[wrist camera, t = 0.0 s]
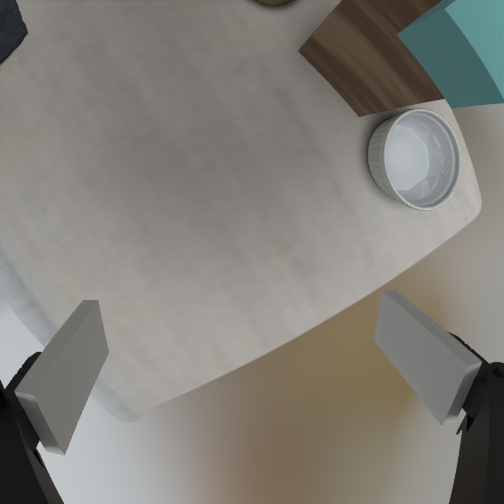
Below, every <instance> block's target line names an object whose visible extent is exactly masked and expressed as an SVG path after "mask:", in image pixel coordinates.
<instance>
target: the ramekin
mask: <svg viewBox="0 0 504 504" xmlns="http://www.w3.org/2000/svg"><path fill="white" fill-rule="evenodd" d="M368 163H369V168H370V171H371V174H372V176H373V178H374V180H375V182H376V183H377V184H378V186H379V187H380V188H381V189H382V190H383V191H384V192H385V193H386V194H388V195H389V196H391V197H393V198H394V199H396V200H398V201H400V202H401V203H402V204H404V205H406V206H408V207H410V208H413V209H417V210H423V211H428V210H433V209H436V208H439V207H440V206H442V205H443V204H445V203H446V202H447V201H448V200H449V199H450V198H451V196H452V195H453V193H454V192H455V190H456V188H457V185H458V183H459V180H460V175H461V169H462V156H461V149H460V145H459V142H458V139H457V137H456V134H455V133H454V131H453V129H452V128H451V126H450V125H449V124H448V122H447V121H446V120H445V119H444V118H442V117H441V116H440V115H439V114H437V113H435V112H433V111H431V110H428V109H422V108H418V109H409V110H406V111H403V112H401V113H399V114H398V115H396V116H395V117H393V118H391V119H388V120H387V121H385V122H384V123H382V124H381V125H380V126H379V127H378V128H377V129H376V130H375V132H374V134H373V135H372V138H371V140H370V143H369V148H368Z"/></svg>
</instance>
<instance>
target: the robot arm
mask: <svg viewBox="0 0 504 504" xmlns="http://www.w3.org/2000/svg"><path fill="white" fill-rule="evenodd" d="M374 341H375V343H376V344H377V345H378V346H379V347H380V349H381V350H382V351H383V352H384V354H385V355H386V356H387V357H388V358H389V360H390V361H391V362H392V363H393V364H394V366H395V367H396V368H397V369H398V371H399V372H400V373H401V374H402V376H403V377H404V378H405V379H406V381H407V382H408V383H409V384H410V386H411V387H412V388H413V390H414V391H415V392H416V393H417V395H418V396H419V397H420V398H421V400H422V401H423V402H424V403H425V405H426V406H427V407H428V409H429V410H430V411H431V412H432V414H433V415H434V416H435V417H436V419H437V420H438V421H439V423H440V424H441V425H444V424H447V423H449V422H452V421H454V420H456V419H457V417H458V415H459V413H460V411H461V409H462V408H463V409H464V411H465V412H466V415H465V417H464V419H463V421H462V423H461V425H460V427H459V428H458V431H457V433H456V434H459V432H460V431H461V430H462V436H461V443H460V450H459V457H458V463H457V469H456V474H455V479H454V484H453V489H452V493H451V498H450V502H449V504H504V363H501V362H493V363H490V364H489V363H488V362H487V361H486V360H484V358H482V357H481V356H480V355H479V354H478V353H477V352H475V351H474V350H473V349H471V348H470V347H469V346H468V345H467V344H465V342H464V341H462V340H461V339H460V338H459V337H458V336H456V335H454V334H451V333H449V332H447V331H446V330H445V329H443V328H442V327H441V326H439V324H437V323H436V322H435V321H434V320H433V319H431V318H430V317H429V316H428V315H426V314H425V313H424V312H423V311H422V310H420V309H419V308H418V307H417V306H415V305H414V304H413V303H412V302H410V301H409V300H408V299H407V298H405V297H404V296H403V295H402V294H400V293H399V292H398V291H396V290H388V291H383V292H382V298H381V304H380V310H379V315H378V321H377V326H376V331H375V335H374ZM108 353H109V349H108V345H107V341H106V336H105V331H104V327H103V322H102V317H101V312H100V306H99V301H98V300H83V301H82V302H81V304H80V305H79V306H78V307H77V309H76V310H75V311H74V312H73V313H72V315H71V316H70V317H69V318H68V320H67V321H66V322H65V323H64V325H63V326H62V327H61V328H60V330H59V331H58V332H57V333H56V335H55V336H54V337H53V339H52V340H51V341H50V343H49V344H48V345H47V346H46V348H45V349H44V350H43V352H36V353H35V354H33V355H32V356H30V357H29V358H28V359H27V360H26V361H25V363H24V364H23V365H22V368H20V369H19V370H18V372H17V374H15V376H14V377H13V378H12V380H11V381H10V383H9V384H8V385H7V387H6V388H5V389H4V387H3V385H2V383H1V380H0V504H64V503H63V501H62V499H61V497H60V495H59V493H58V491H57V489H56V487H55V485H54V483H53V482H52V480H51V477H50V475H49V473H48V471H47V469H46V467H45V465H44V462H43V460H42V458H41V455H40V454H39V452H38V450H37V449H36V447H37V445H38V443H39V441H41V443H42V445H43V446H44V448H45V450H46V451H48V452H52V453H57V454H61V455H65V453H66V450H67V448H68V446H69V443H70V441H71V438H72V435H73V433H74V430H75V428H76V426H77V423H78V421H79V418H80V416H81V414H82V411H83V409H84V406H85V404H86V402H87V400H88V397H89V395H90V393H91V390H92V388H93V386H94V384H95V381H96V379H97V377H98V375H99V373H100V371H101V368H102V366H103V364H104V362H105V360H106V358H107V356H108Z"/></svg>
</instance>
